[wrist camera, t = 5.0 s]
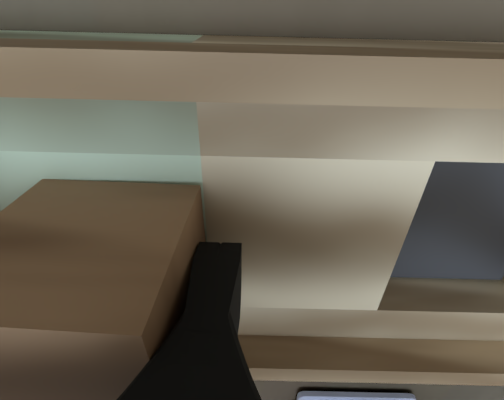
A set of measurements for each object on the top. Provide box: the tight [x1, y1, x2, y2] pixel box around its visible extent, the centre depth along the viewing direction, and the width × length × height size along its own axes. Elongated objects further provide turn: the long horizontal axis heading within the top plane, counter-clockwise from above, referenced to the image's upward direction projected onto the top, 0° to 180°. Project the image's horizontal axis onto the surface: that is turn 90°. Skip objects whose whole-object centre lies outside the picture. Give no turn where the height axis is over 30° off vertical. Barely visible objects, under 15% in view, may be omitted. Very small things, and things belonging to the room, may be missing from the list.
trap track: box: [0, 30, 504, 386], centre depth 11 cm, size 13×32×4 cm, turn 89°
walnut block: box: [0, 179, 206, 400], centre depth 9 cm, size 5×5×5 cm
